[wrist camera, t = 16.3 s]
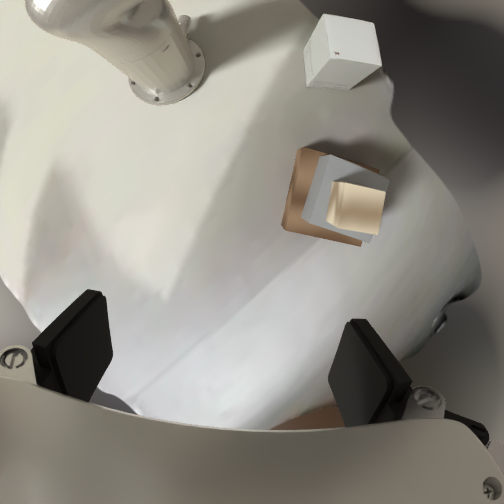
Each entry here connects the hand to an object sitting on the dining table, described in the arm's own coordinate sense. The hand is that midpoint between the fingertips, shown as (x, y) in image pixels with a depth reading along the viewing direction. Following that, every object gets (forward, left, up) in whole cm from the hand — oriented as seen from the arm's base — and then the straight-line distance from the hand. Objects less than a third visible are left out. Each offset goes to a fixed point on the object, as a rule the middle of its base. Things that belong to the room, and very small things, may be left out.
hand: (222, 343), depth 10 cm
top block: (-6, +14, -30) cm, 34 cm away
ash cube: (-5, +13, -25) cm, 29 cm away
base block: (-5, +13, -35) cm, 38 cm away
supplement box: (-26, +10, -35) cm, 45 cm away
